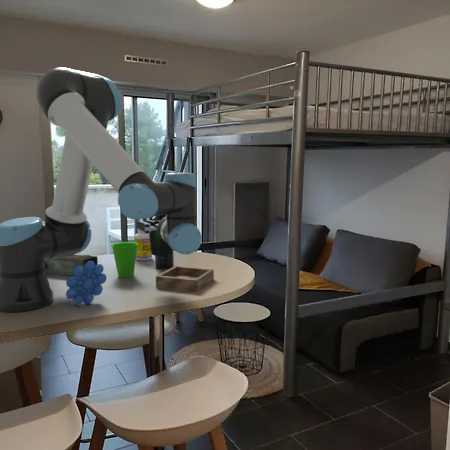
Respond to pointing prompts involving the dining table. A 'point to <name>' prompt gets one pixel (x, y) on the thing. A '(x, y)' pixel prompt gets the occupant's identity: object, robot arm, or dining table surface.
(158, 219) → the potion bottle
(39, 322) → the dining table surface
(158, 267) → the supplement bottle
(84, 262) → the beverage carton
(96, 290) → the grapes
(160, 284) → the walnut tray
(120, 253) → the cup
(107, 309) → the dining table surface
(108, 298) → the dining table surface
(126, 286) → the dining table surface
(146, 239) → the supplement bottle
